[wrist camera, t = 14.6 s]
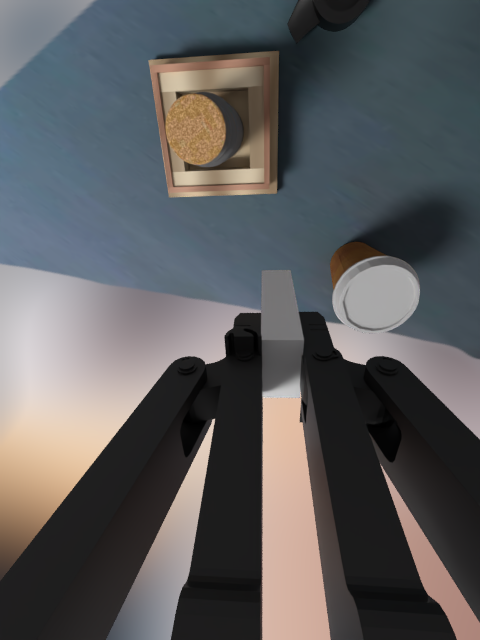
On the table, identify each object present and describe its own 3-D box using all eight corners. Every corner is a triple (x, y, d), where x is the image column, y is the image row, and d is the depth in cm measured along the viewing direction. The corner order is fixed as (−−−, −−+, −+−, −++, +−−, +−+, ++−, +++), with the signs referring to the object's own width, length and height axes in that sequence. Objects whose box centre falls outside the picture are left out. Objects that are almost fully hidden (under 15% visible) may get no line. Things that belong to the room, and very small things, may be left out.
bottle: (187, 112, 36) (144, 100, 23) (235, 94, 35) (218, 70, 22) (204, 166, 39) (175, 182, 26) (250, 150, 38) (243, 159, 25)
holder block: (278, 53, 34) (280, 42, 30) (276, 191, 41) (277, 197, 37) (152, 62, 35) (138, 53, 31) (171, 195, 42) (162, 201, 38)
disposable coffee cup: (329, 224, 43) (350, 253, 32) (398, 236, 43) (440, 268, 32) (311, 287, 47) (324, 330, 37) (372, 297, 48) (403, 342, 37)
